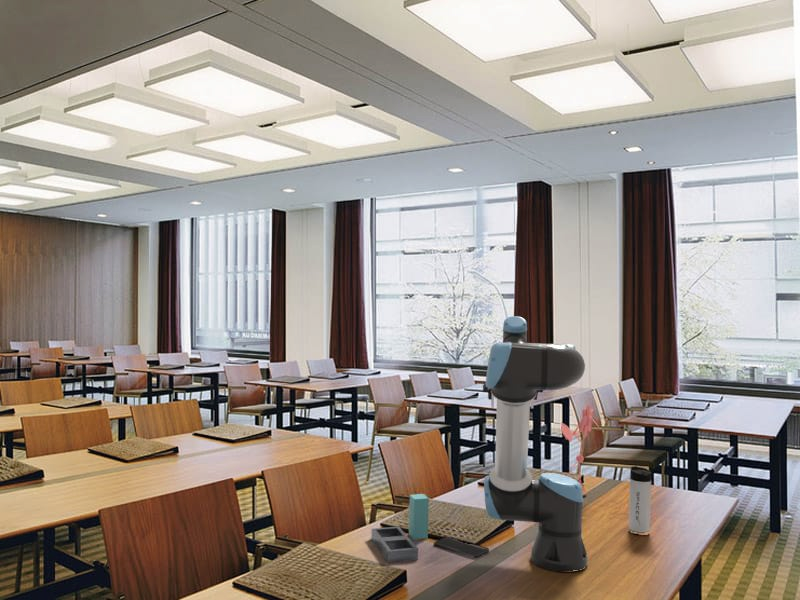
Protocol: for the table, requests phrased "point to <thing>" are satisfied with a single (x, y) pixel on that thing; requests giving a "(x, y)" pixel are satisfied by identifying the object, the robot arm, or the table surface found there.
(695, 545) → the table surface
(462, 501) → the table surface
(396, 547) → the grey hollow block
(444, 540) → the phone
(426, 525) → the square peg
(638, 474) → the travel mug
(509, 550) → the table surface
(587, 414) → the pink flower branch
